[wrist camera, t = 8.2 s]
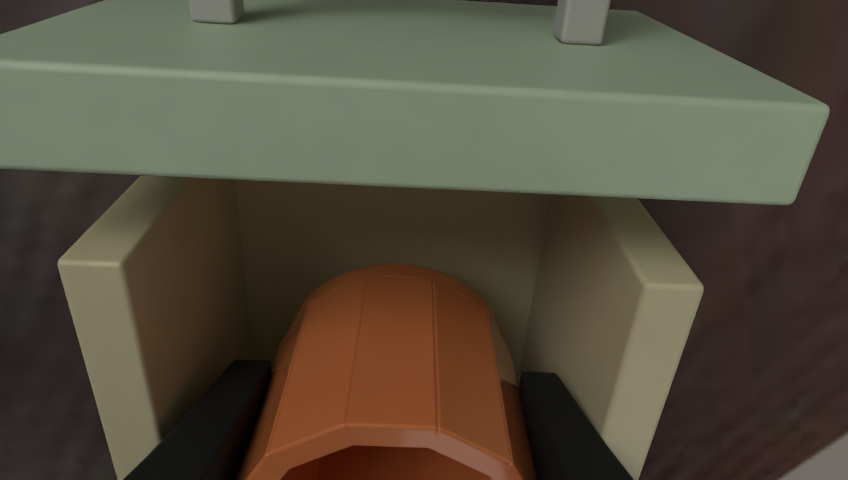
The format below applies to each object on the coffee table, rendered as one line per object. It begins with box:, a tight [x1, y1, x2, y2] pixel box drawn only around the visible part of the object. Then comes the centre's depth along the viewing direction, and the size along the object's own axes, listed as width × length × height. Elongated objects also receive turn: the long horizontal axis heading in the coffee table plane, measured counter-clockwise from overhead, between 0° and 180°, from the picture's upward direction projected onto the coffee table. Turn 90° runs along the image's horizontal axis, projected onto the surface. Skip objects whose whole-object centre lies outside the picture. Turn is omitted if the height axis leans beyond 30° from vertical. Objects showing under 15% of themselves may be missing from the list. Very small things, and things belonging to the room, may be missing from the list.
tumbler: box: [236, 264, 537, 480], centre depth 10 cm, size 4×4×4 cm
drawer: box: [0, 0, 829, 480], centre depth 10 cm, size 14×9×6 cm
